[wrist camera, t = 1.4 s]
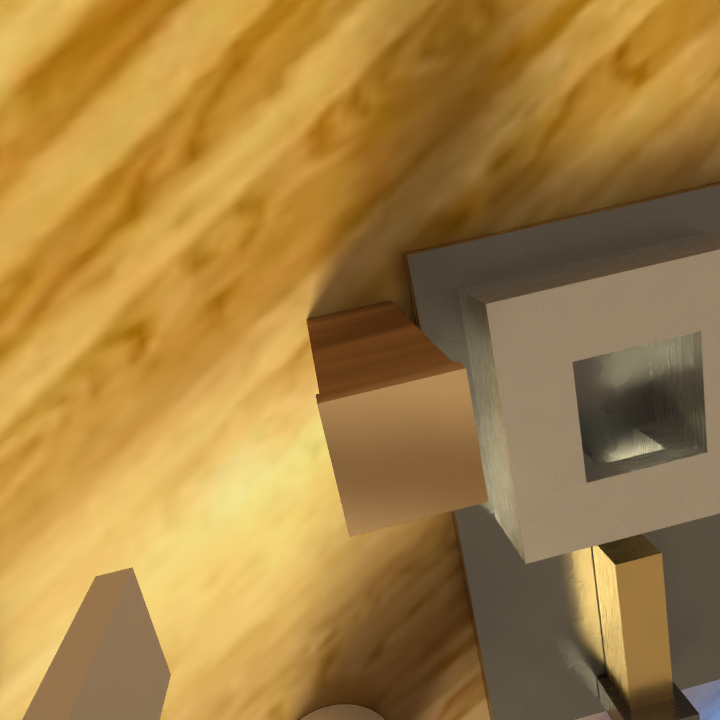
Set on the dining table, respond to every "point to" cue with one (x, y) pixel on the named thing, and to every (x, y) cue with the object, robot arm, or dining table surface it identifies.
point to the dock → (585, 433)
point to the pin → (636, 634)
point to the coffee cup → (343, 713)
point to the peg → (394, 419)
